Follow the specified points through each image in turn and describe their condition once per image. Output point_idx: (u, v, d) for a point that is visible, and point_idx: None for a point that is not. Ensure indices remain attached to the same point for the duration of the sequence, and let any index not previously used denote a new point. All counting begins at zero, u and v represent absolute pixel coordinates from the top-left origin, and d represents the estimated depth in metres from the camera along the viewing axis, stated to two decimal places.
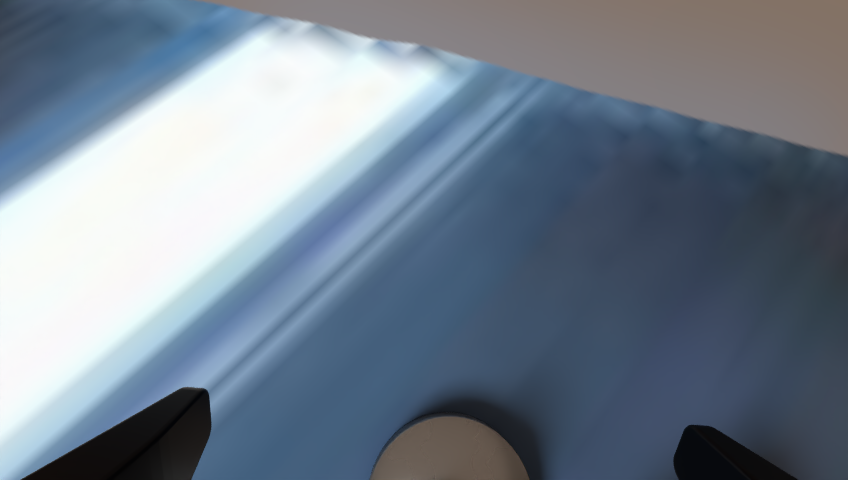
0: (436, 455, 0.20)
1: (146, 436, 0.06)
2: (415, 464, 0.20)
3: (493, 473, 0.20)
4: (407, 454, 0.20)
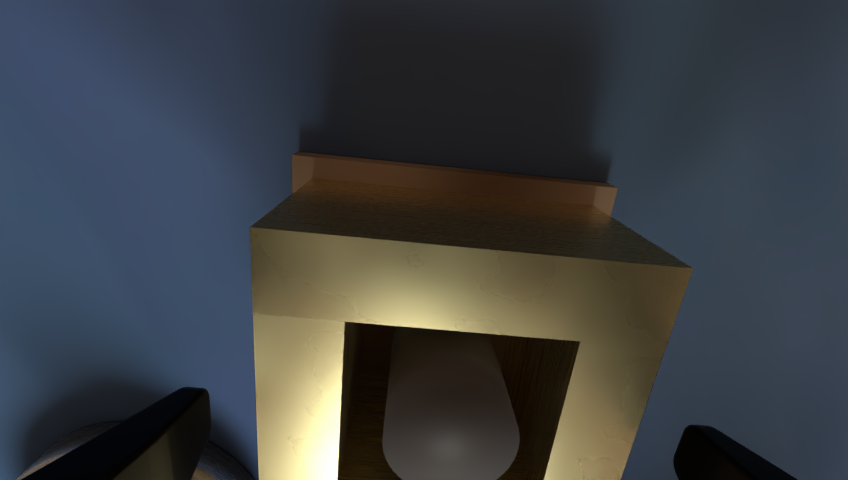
0: None
1: (146, 436, 0.06)
2: None
3: None
4: None
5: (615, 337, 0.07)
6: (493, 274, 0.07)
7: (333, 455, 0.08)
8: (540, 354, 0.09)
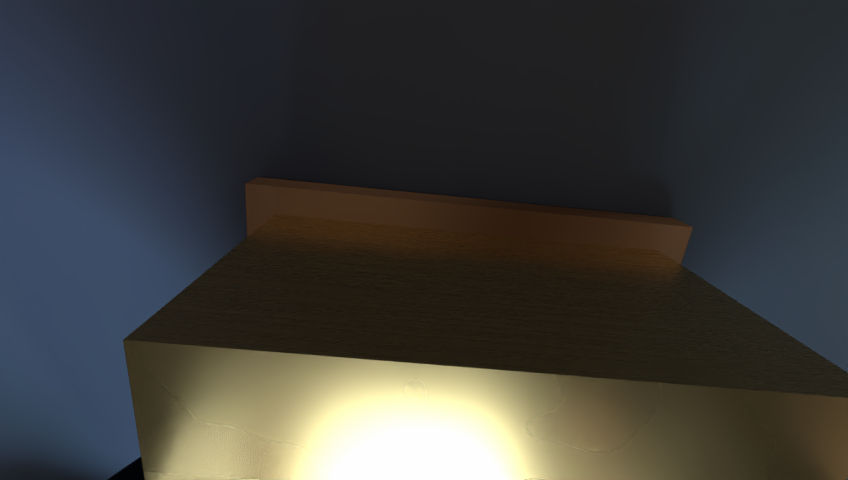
0: None
1: None
2: None
3: None
4: None
5: None
6: (549, 411, 0.04)
7: None
8: None
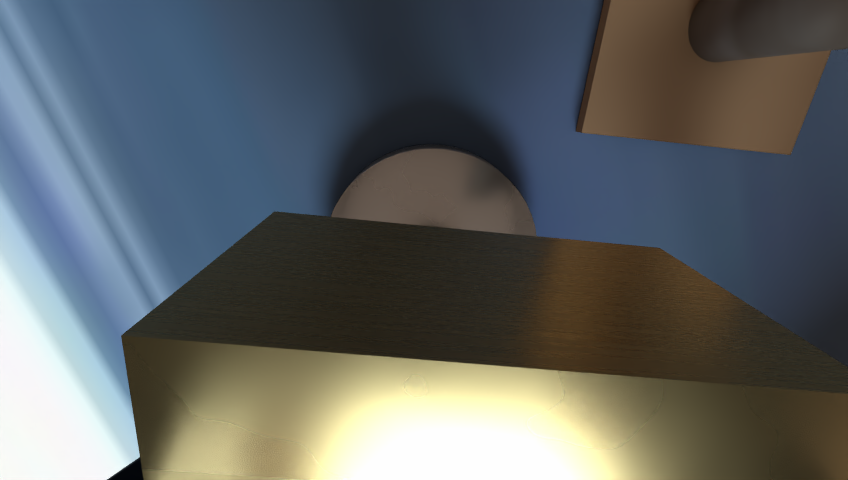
0: None
1: None
2: None
3: (427, 190, 0.15)
4: None
5: None
6: (552, 408, 0.04)
7: None
8: None
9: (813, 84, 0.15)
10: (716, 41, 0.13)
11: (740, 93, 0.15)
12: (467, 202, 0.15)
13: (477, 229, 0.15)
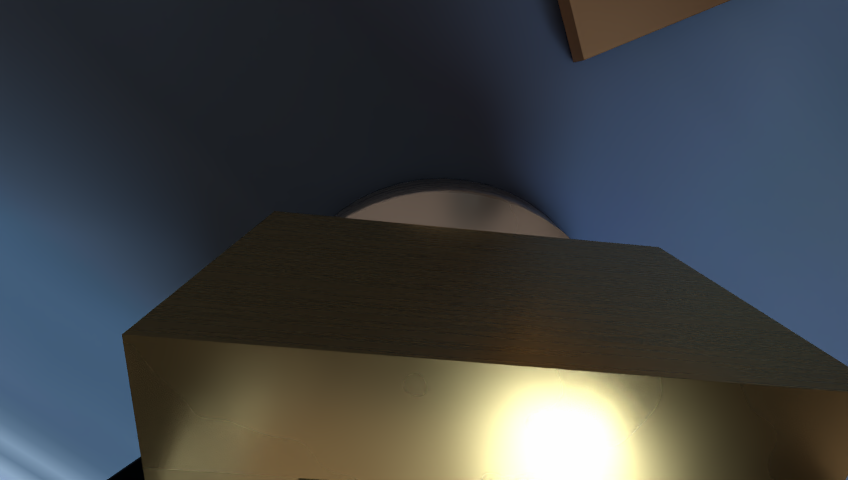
0: None
1: None
2: None
3: None
4: None
5: None
6: (549, 406, 0.04)
7: None
8: None
9: None
10: None
11: None
12: None
13: None
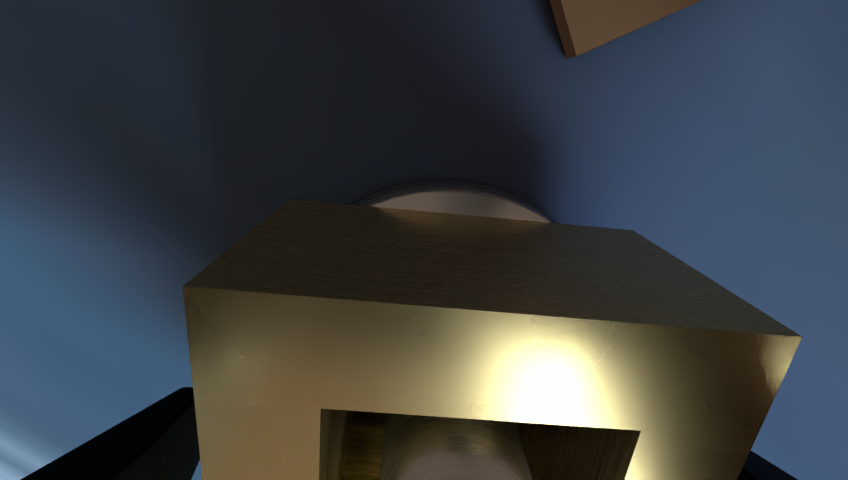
0: None
1: (146, 436, 0.06)
2: (362, 420, 0.10)
3: None
4: None
5: (688, 425, 0.05)
6: (525, 346, 0.05)
7: None
8: None
9: None
10: None
11: None
12: None
13: None
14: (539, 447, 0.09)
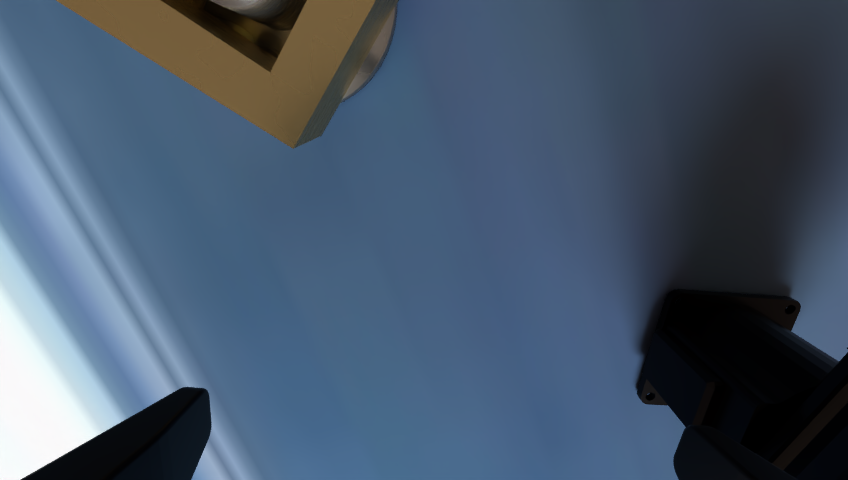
0: None
1: (146, 436, 0.06)
2: (209, 8, 0.14)
3: None
4: None
5: None
6: None
7: None
8: None
9: None
10: None
11: None
12: None
13: None
14: None
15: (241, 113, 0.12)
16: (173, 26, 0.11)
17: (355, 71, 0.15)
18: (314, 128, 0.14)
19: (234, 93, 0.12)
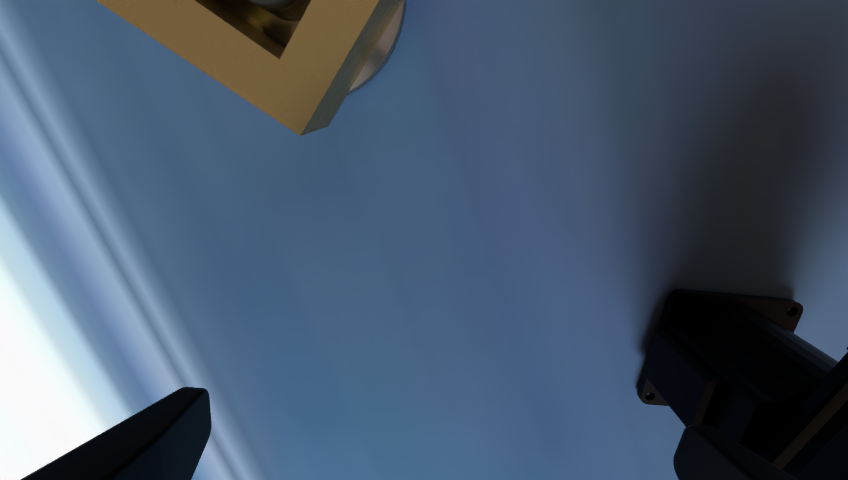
0: None
1: (146, 436, 0.06)
2: None
3: None
4: None
5: None
6: None
7: None
8: None
9: None
10: None
11: None
12: None
13: None
14: None
15: (250, 99, 0.12)
16: (185, 12, 0.11)
17: (363, 62, 0.15)
18: (321, 117, 0.14)
19: (243, 79, 0.12)
